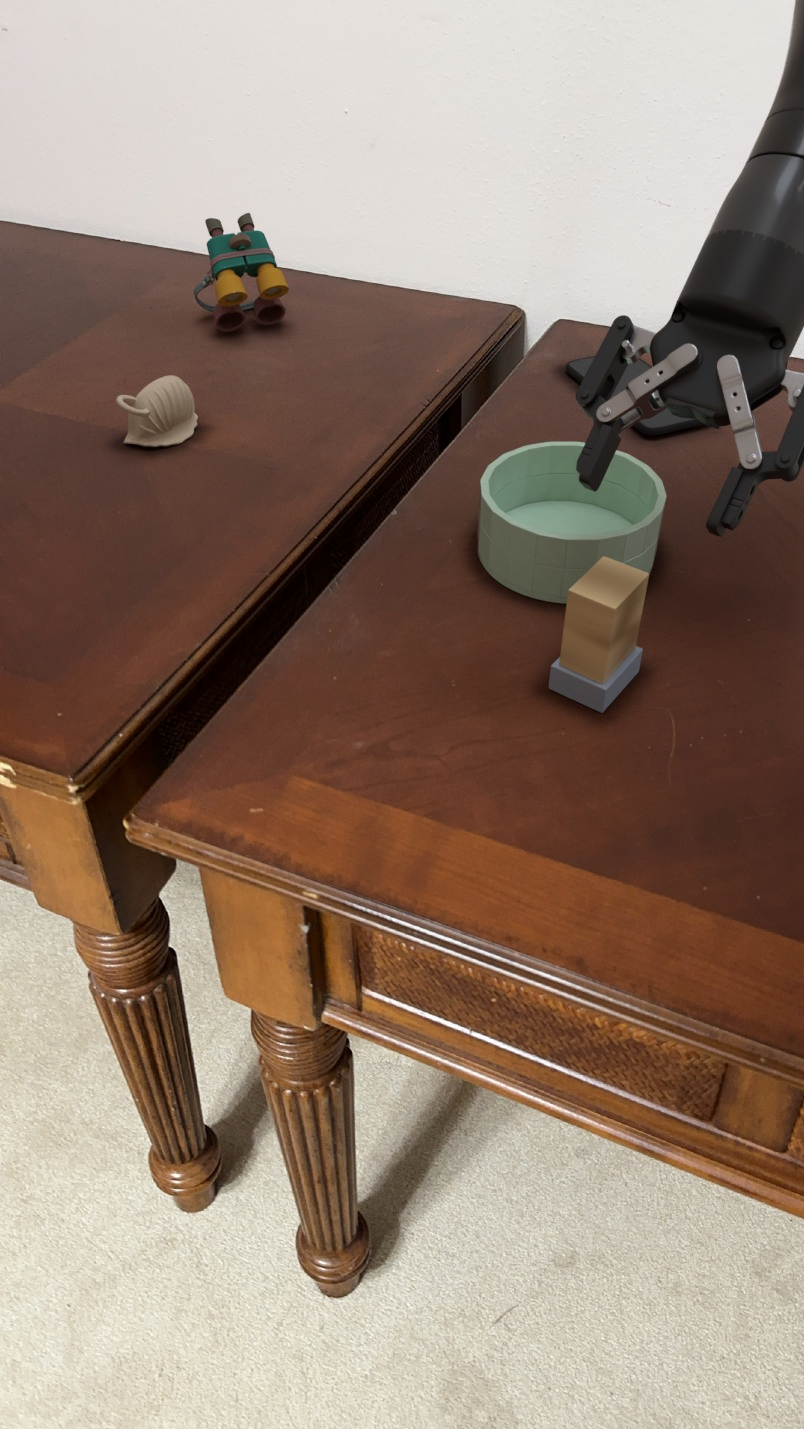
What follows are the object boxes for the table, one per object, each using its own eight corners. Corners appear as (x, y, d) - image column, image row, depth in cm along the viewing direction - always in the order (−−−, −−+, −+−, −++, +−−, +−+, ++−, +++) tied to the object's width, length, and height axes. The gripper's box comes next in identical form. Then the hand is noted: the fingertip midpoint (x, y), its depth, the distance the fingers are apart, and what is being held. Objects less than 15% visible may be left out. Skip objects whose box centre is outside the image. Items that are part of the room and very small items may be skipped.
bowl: (666, 519, 86) (678, 457, 82) (638, 619, 77) (649, 554, 73) (502, 491, 89) (506, 429, 85) (456, 584, 80) (458, 519, 76)
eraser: (586, 649, 74) (600, 550, 69) (639, 671, 73) (658, 573, 67) (547, 688, 72) (559, 589, 66) (602, 713, 70) (618, 613, 64)
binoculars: (205, 351, 113) (208, 289, 103) (180, 275, 114) (181, 207, 105) (292, 336, 115) (303, 274, 106) (266, 262, 117) (275, 194, 107)
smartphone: (628, 347, 106) (720, 414, 96) (627, 356, 107) (718, 424, 97) (561, 361, 104) (648, 431, 94) (560, 371, 105) (646, 441, 94)
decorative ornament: (212, 427, 97) (205, 369, 93) (139, 464, 92) (128, 405, 89) (181, 412, 99) (173, 356, 95) (108, 449, 94) (96, 390, 90)
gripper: (644, 201, 66) (528, 453, 67) (881, 254, 59) (750, 530, 61) (669, 263, 72) (564, 491, 73) (885, 317, 66) (767, 564, 67)
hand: (648, 508), depth 67 cm, fingers open, 8 cm apart
